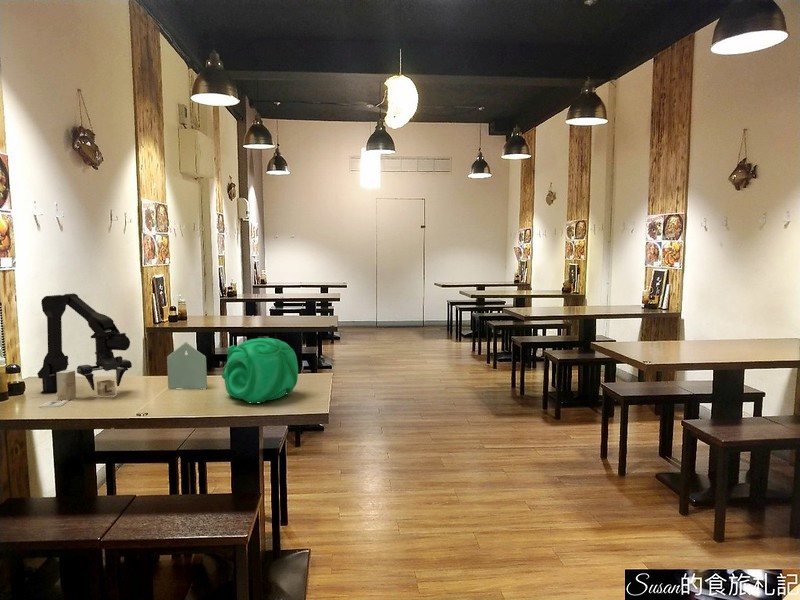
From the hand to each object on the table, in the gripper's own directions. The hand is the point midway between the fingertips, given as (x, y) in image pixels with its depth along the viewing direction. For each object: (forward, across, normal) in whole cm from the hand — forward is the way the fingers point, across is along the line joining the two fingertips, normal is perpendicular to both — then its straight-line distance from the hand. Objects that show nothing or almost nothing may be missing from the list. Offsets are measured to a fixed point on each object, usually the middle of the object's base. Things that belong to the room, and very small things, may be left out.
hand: (105, 388), depth 226 cm
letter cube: (+2, 0, 0) cm, 2 cm away
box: (+3, -12, +5) cm, 14 cm away
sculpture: (+3, +40, -47) cm, 62 cm away
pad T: (+3, -18, 0) cm, 19 cm away
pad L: (+3, 0, 0) cm, 3 cm away
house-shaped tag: (+3, +30, -11) cm, 32 cm away
